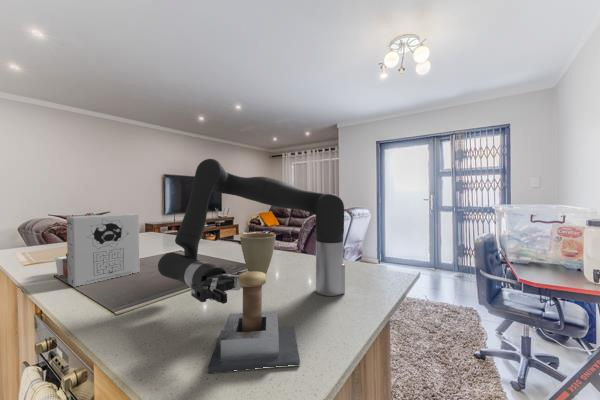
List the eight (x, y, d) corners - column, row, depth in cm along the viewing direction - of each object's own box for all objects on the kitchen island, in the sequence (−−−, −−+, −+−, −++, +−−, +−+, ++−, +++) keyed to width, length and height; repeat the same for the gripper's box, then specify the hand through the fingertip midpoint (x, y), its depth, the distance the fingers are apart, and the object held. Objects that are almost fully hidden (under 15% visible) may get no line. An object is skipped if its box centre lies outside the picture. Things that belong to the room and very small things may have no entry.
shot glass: (58, 277, 104) (58, 259, 104) (52, 274, 107) (52, 257, 107) (80, 272, 110) (79, 256, 109) (74, 270, 113) (73, 254, 113)
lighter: (67, 278, 102) (66, 253, 102) (60, 278, 102) (59, 253, 102) (87, 272, 110) (87, 249, 110) (81, 272, 110) (80, 248, 110)
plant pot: (275, 278, 102) (275, 237, 102) (237, 279, 101) (237, 238, 101) (276, 267, 117) (276, 232, 116) (243, 268, 116) (242, 232, 115)
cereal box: (132, 269, 114) (131, 213, 113) (139, 272, 110) (139, 213, 109) (67, 283, 96) (66, 216, 96) (74, 287, 92) (72, 217, 91)
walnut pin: (265, 334, 58) (266, 271, 58) (264, 349, 53) (265, 279, 53) (239, 335, 58) (240, 271, 57) (236, 350, 52) (237, 279, 52)
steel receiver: (293, 330, 62) (293, 309, 62) (299, 366, 50) (299, 339, 49) (221, 335, 60) (221, 313, 60) (208, 373, 48) (208, 345, 47)
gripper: (177, 269, 62) (213, 284, 52) (228, 258, 73) (266, 269, 63) (177, 299, 63) (213, 321, 52) (228, 284, 73) (266, 299, 63)
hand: (242, 292), depth 57 cm, fingers open, 8 cm apart
